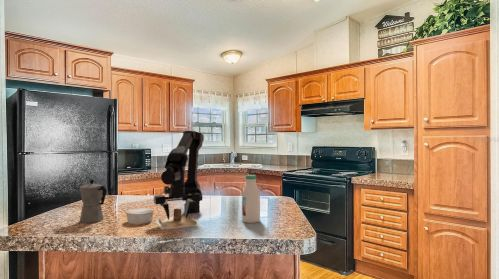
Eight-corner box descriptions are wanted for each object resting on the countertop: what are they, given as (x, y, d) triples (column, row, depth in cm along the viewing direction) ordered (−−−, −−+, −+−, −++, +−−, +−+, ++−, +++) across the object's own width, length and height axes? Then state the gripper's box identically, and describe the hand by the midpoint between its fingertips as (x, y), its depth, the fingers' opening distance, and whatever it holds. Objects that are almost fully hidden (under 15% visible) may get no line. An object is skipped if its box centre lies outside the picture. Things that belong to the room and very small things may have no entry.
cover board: (188, 217, 139) (188, 205, 139) (196, 224, 127) (196, 210, 127) (158, 220, 133) (159, 207, 133) (164, 228, 122) (164, 214, 122)
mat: (191, 217, 141) (191, 216, 141) (201, 226, 126) (201, 224, 126) (154, 221, 134) (154, 220, 134) (161, 231, 120) (161, 229, 120)
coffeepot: (71, 221, 134) (71, 179, 135) (90, 216, 143) (90, 177, 143) (96, 225, 128) (96, 181, 128) (114, 220, 136) (115, 179, 137)
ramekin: (144, 227, 126) (144, 214, 126) (120, 225, 128) (120, 212, 128) (158, 220, 137) (158, 208, 137) (135, 219, 139) (135, 207, 139)
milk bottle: (262, 219, 137) (262, 174, 138) (256, 224, 130) (256, 176, 130) (245, 218, 140) (245, 173, 140) (239, 222, 133) (239, 175, 133)
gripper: (194, 178, 142) (194, 212, 142) (151, 180, 134) (151, 216, 134) (201, 181, 132) (201, 218, 132) (155, 183, 124) (155, 223, 123)
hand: (177, 218), depth 130 cm, fingers open, 7 cm apart
